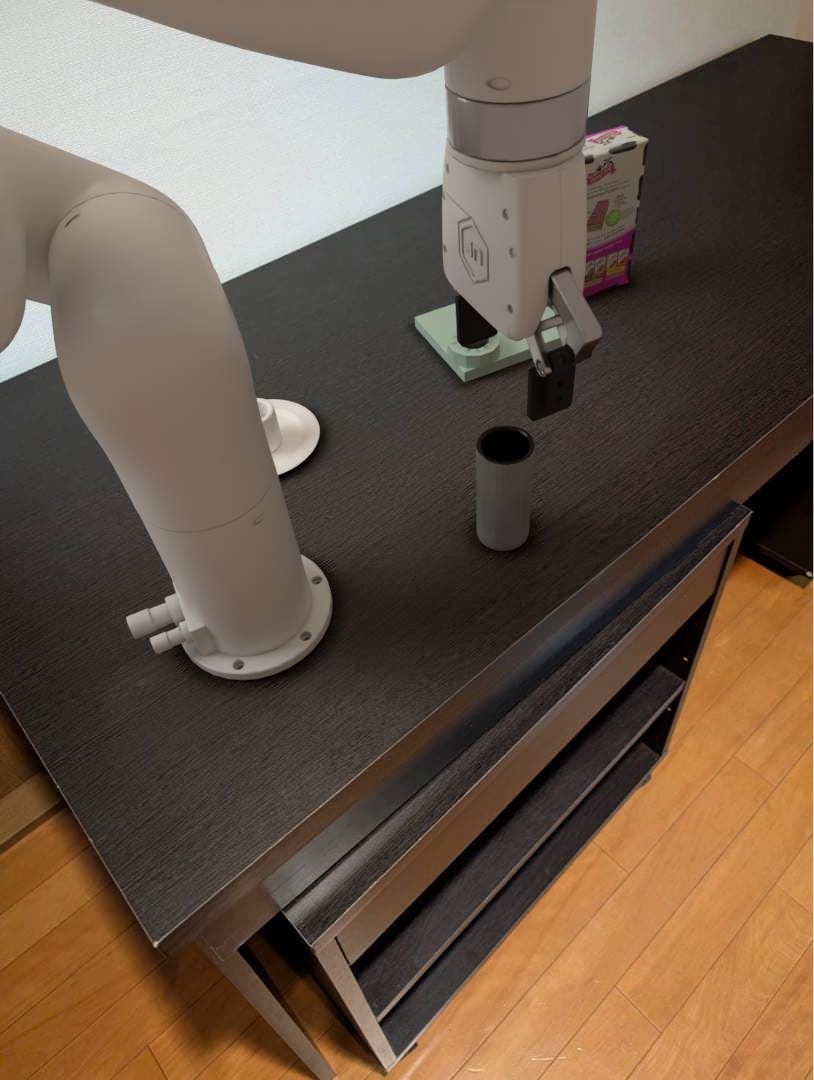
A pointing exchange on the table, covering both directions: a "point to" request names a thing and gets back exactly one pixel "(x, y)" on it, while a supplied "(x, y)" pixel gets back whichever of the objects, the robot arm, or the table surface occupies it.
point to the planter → (504, 486)
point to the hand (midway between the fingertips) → (511, 373)
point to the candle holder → (288, 432)
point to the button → (476, 345)
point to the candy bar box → (612, 205)
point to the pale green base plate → (482, 360)
